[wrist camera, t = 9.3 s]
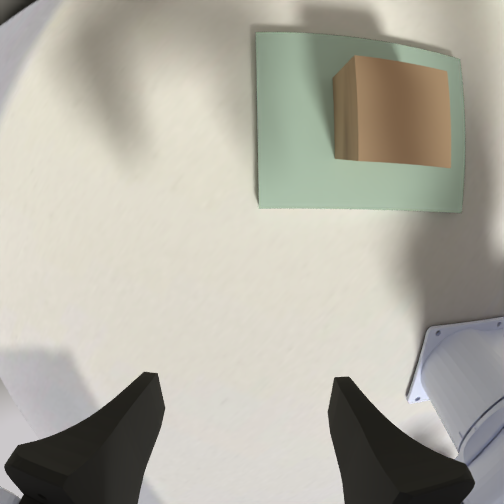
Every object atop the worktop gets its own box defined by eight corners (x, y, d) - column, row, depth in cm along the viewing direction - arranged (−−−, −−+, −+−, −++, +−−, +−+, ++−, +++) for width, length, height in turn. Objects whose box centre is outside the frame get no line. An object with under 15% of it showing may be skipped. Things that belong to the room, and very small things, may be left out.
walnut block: (408, 86, 17) (447, 71, 12) (409, 163, 18) (450, 168, 13) (332, 78, 17) (354, 55, 12) (334, 158, 18) (358, 161, 13)
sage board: (454, 61, 16) (459, 59, 16) (455, 211, 20) (461, 213, 19) (255, 36, 17) (255, 32, 16) (258, 206, 20) (258, 208, 19)
